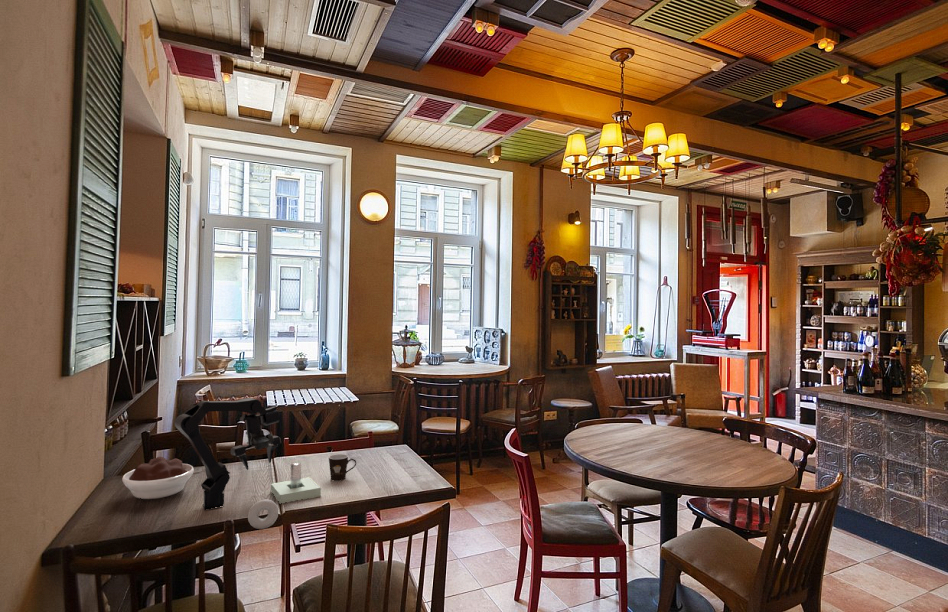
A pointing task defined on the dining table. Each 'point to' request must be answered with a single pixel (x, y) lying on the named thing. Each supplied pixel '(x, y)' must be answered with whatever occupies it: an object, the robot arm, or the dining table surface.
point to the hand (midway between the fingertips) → (258, 466)
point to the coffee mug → (339, 466)
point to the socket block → (295, 490)
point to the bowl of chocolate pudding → (158, 478)
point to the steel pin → (295, 475)
